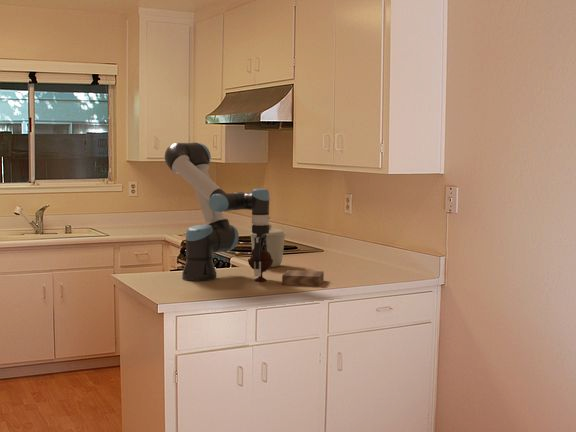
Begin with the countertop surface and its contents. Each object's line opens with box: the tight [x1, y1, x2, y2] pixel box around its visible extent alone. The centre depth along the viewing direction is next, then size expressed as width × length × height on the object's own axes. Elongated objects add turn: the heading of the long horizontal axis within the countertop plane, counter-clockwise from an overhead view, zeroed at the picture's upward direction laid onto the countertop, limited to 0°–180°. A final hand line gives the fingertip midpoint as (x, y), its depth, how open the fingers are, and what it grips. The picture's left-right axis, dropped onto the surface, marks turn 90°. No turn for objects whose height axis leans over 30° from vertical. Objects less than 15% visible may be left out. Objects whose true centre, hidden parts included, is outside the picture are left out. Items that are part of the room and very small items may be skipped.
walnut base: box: [281, 269, 325, 287], centre depth 335 cm, size 16×14×4 cm
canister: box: [249, 223, 287, 268], centre depth 378 cm, size 18×18×21 cm
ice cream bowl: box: [247, 249, 273, 283], centre depth 338 cm, size 11×11×15 cm
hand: (260, 274), depth 338 cm, fingers closed on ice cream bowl, 11 cm apart
